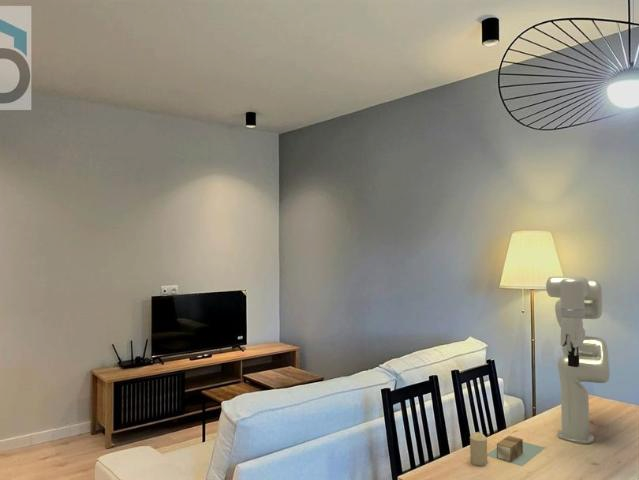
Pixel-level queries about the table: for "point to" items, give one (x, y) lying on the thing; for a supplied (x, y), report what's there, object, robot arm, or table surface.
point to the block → (509, 448)
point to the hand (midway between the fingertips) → (573, 366)
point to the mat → (527, 455)
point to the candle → (478, 449)
